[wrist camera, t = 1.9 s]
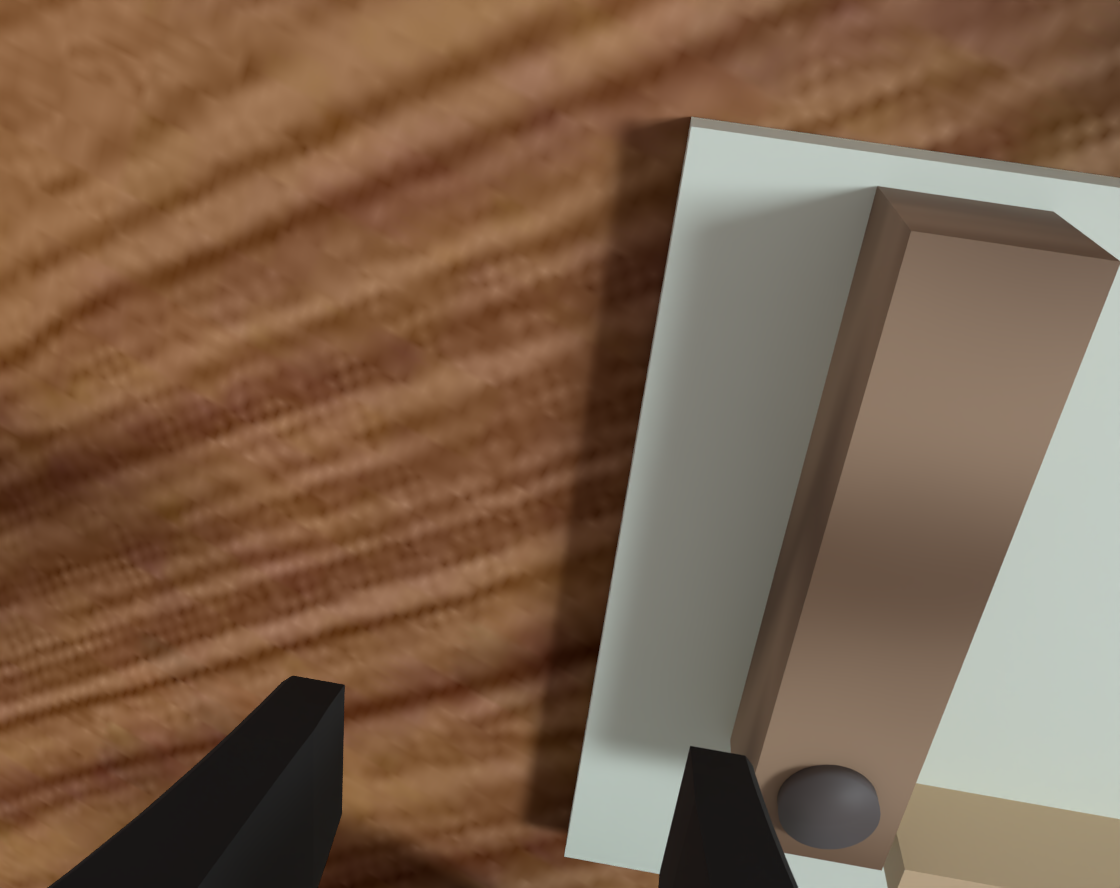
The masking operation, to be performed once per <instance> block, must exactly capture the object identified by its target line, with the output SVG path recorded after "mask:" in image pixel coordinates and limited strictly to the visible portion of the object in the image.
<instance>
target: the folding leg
mask: <svg viewBox="0 0 1120 888" xmlns="http://www.w3.org/2000/svg"><path fill="white" fill-rule="evenodd" d="M1119 266H1120V261H1119V260H1118V259H1117V258H1115V257H1114V256H1113V255H1111V254H1110V253H1109V252H1107V251H1106V250H1105V249H1103V248H1102V247H1101V246H1099V245H1098V244H1097V243H1095V242H1094V241H1093V240H1091V239H1090V238H1089V237H1087V236H1086V235H1085V234H1083V233H1082V232H1081V231H1079V230H1078V229H1076V228H1075V227H1074V226H1072V225H1071V224H1070V223H1068V222H1067V221H1066V220H1064V219H1063V218H1062V217H1060V216H1059V215H1058V214H1056V213H1055V212H1054V211H1047V210H1040V209H1033V208H1026V207H1019V206H1012V205H1005V204H999V203H992V202H985V201H978V200H971V199H964V198H957V197H950V196H943V195H936V194H930V193H923V192H916V191H909V190H902V189H895V188H888V187H881V186H877V189H876V193H875V196H874V200H873V204H872V208H871V212H870V215H869V219H868V223H867V227H866V230H865V234H864V238H863V242H862V245H861V249H860V253H859V257H858V260H857V264H856V268H855V272H854V276H853V279H852V283H851V287H850V291H849V294H848V298H847V302H846V306H845V309H844V313H843V317H842V321H841V325H840V328H839V332H838V336H837V340H836V343H835V347H834V351H833V355H832V358H831V362H830V366H829V370H828V373H827V377H826V381H825V385H824V389H823V392H822V396H821V400H820V404H819V407H818V411H817V415H816V419H815V422H814V426H813V430H812V434H811V438H810V441H809V445H808V449H807V453H806V456H805V460H804V464H803V468H802V471H801V475H800V479H799V483H798V486H797V490H796V494H795V498H794V502H793V505H792V509H791V513H790V517H789V520H788V524H787V528H786V532H785V535H784V539H783V543H782V547H781V551H780V554H779V558H778V562H777V566H776V569H775V573H774V577H773V581H772V584H771V588H770V592H769V596H768V599H767V603H766V607H765V611H764V615H763V618H762V622H761V626H760V630H759V633H758V637H757V641H756V645H755V648H754V652H753V656H752V660H751V664H750V667H749V671H748V675H747V679H746V682H745V686H744V690H743V694H742V697H741V701H740V705H739V709H738V712H737V716H736V720H735V724H734V728H733V731H732V735H731V739H730V745H731V753H734V754H740V755H745V756H746V757H747V758H748V760H749V761H750V762H751V764H752V765H753V768H754V771H755V774H756V778H757V781H758V784H759V787H760V790H761V793H762V796H763V799H764V802H765V804H766V807H767V810H768V813H769V816H770V818H771V821H772V824H773V826H774V829H775V831H776V834H777V837H778V839H779V842H780V844H781V847H782V849H783V852H784V853H787V854H793V855H798V856H804V857H809V858H815V859H820V860H826V861H831V862H837V863H842V864H848V865H853V866H859V867H864V868H870V869H875V870H881V871H882V868H883V866H884V863H885V861H886V858H887V856H888V853H889V851H890V848H891V846H892V843H893V841H894V838H895V835H896V833H897V830H898V828H899V825H900V823H901V820H902V818H903V815H904V813H905V810H906V807H907V805H908V802H909V800H910V797H911V795H912V792H913V790H914V787H915V785H916V782H917V779H918V777H919V774H920V772H921V769H922V767H923V764H924V762H925V759H926V757H927V754H928V751H929V749H930V746H931V744H932V741H933V739H934V736H935V734H936V731H937V729H938V726H939V724H940V721H941V718H942V716H943V713H944V711H945V708H946V706H947V703H948V701H949V698H950V696H951V693H952V690H953V688H954V685H955V683H956V680H957V678H958V675H959V673H960V670H961V668H962V665H963V662H964V660H965V657H966V655H967V652H968V650H969V647H970V645H971V642H972V640H973V637H974V634H975V632H976V629H977V627H978V624H979V622H980V619H981V617H982V614H983V612H984V609H985V607H986V604H987V601H988V599H989V596H990V594H991V591H992V589H993V586H994V584H995V581H996V579H997V576H998V573H999V571H1000V568H1001V566H1002V563H1003V561H1004V558H1005V556H1006V553H1007V551H1008V548H1009V545H1010V543H1011V540H1012V538H1013V535H1014V533H1015V530H1016V528H1017V525H1018V523H1019V520H1020V518H1021V515H1022V512H1023V510H1024V507H1025V505H1026V502H1027V500H1028V497H1029V495H1030V492H1031V490H1032V487H1033V484H1034V482H1035V479H1036V477H1037V474H1038V472H1039V469H1040V467H1041V464H1042V462H1043V459H1044V456H1045V454H1046V451H1047V449H1048V446H1049V444H1050V441H1051V439H1052V436H1053V434H1054V431H1055V428H1056V426H1057V423H1058V421H1059V418H1060V416H1061V413H1062V411H1063V408H1064V406H1065V403H1066V401H1067V398H1068V395H1069V393H1070V390H1071V388H1072V385H1073V383H1074V380H1075V378H1076V375H1077V373H1078V370H1079V367H1080V365H1081V362H1082V360H1083V357H1084V355H1085V352H1086V350H1087V347H1088V345H1089V342H1090V339H1091V337H1092V334H1093V332H1094V329H1095V327H1096V324H1097V322H1098V319H1099V317H1100V314H1101V312H1102V309H1103V306H1104V304H1105V301H1106V299H1107V296H1108V294H1109V291H1110V289H1111V286H1112V284H1113V281H1114V278H1115V276H1116V273H1117V271H1118V268H1119Z"/></svg>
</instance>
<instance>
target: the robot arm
mask: <svg viewBox="0 0 1120 888" xmlns="http://www.w3.org/2000/svg"><path fill="white" fill-rule="evenodd" d="M344 692H345V685H343V684H337V683H332V682H326V681H320V680H315V679H309V678H303V677H298V676H291V677H289V678H288V679H286V680H285V681H283V682H282V683H281V684H280V685H279V686H278V687H277V688H276V689H275V690H274V691H273V692H272V693H271V694H270V695H269V696H268V697H267V698H266V699H265V700H264V701H263V702H262V703H261V704H260V705H259V706H258V707H257V708H256V709H255V710H254V711H253V712H252V713H250V714H249V715H248V716H247V717H246V718H245V719H244V720H243V721H242V722H241V723H240V724H239V725H238V726H237V727H236V728H235V729H234V730H233V731H232V732H231V733H230V734H229V735H228V736H227V737H225V738H224V739H223V740H222V741H221V742H220V743H219V744H218V745H217V746H216V747H215V748H214V749H213V750H212V751H210V752H209V753H208V754H207V755H206V756H205V757H204V758H203V759H202V760H201V761H200V762H199V763H197V764H196V765H195V766H194V767H193V768H192V769H191V770H190V771H188V772H187V773H186V774H185V775H184V776H183V777H182V778H180V779H179V780H178V781H177V782H176V783H175V784H174V785H173V786H171V787H170V788H169V789H168V790H167V791H166V792H165V793H164V794H162V795H161V796H160V797H159V798H158V799H157V800H156V801H155V802H153V803H152V804H151V805H150V806H149V807H148V808H146V809H145V810H144V811H143V812H142V813H141V814H139V815H138V816H137V817H136V818H135V819H134V820H132V821H131V822H130V823H129V824H127V825H126V826H125V827H124V828H122V829H121V830H120V831H119V832H117V833H116V834H115V835H114V836H112V837H111V838H110V839H109V840H108V841H106V842H105V843H104V844H103V845H101V846H100V847H99V848H98V849H96V850H95V851H94V852H93V853H91V854H90V855H89V856H88V857H86V858H85V859H84V860H83V861H81V862H80V863H79V864H78V865H77V866H75V867H74V868H73V869H72V870H70V871H69V872H68V873H66V874H65V875H64V876H62V877H61V878H60V879H59V880H57V881H56V882H55V883H53V884H52V885H51V886H49V887H48V888H318V885H319V882H320V879H321V876H322V873H323V871H324V868H325V865H326V862H327V859H328V855H329V852H330V849H331V846H332V843H333V840H334V837H335V834H336V830H337V827H338V824H339V821H340V818H341V815H342V783H343V737H344ZM658 888H798V885H797V883H796V881H795V878H794V876H793V874H792V871H791V869H790V867H789V864H788V862H787V859H786V857H785V854H784V852H783V849H782V847H781V844H780V842H779V839H778V837H777V834H776V831H775V829H774V826H773V824H772V821H771V818H770V816H769V813H768V810H767V807H766V804H765V802H764V799H763V796H762V793H761V790H760V787H759V784H758V781H757V778H756V774H755V771H754V768H753V765H752V764H751V762H750V761H749V760H748V758H747V757H746V756H745V755H740V754H734V753H728V752H723V751H717V750H711V749H706V748H700V747H694V746H690V749H689V753H688V757H687V761H686V765H685V769H684V773H683V778H682V782H681V786H680V790H679V794H678V798H677V802H676V807H675V811H674V815H673V819H672V823H671V827H670V832H669V836H668V840H667V844H666V848H665V852H664V856H663V861H662V865H661V869H660V874H659V887H658Z"/></svg>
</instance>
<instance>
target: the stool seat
mask: <svg viewBox="0 0 1120 888" xmlns="http://www.w3.org/2000/svg"><path fill="white" fill-rule="evenodd" d="M877 186H881V187H888V188H895V189H902V190H909V191H916V192H923V193H930V194H936V195H943V196H950V197H957V198H964V199H971V200H978V201H985V202H992V203H999V204H1005V205H1012V206H1019V207H1026V208H1033V209H1040V210H1047V211H1054V212H1055V213H1056V214H1058V215H1059V216H1060V217H1062V218H1063V219H1064V220H1066V221H1067V222H1068V223H1070V224H1071V225H1072V226H1074V227H1075V228H1076V229H1078V230H1079V231H1081V232H1082V233H1083V234H1085V235H1086V236H1087V237H1089V238H1090V239H1091V240H1093V241H1094V242H1095V243H1097V244H1098V245H1099V246H1101V247H1102V248H1103V249H1105V250H1106V251H1107V252H1109V253H1110V254H1111V255H1113V256H1114V257H1115V258H1117V259H1118V260H1119V261H1120V178H1117V177H1110V176H1103V175H1096V174H1089V173H1082V172H1075V171H1068V170H1061V169H1054V168H1047V167H1040V166H1033V165H1026V164H1019V163H1012V162H1005V161H998V160H991V159H984V158H977V157H970V156H963V155H956V154H949V153H942V152H935V151H928V150H921V149H914V148H907V147H900V146H893V145H886V144H879V143H872V142H865V141H858V140H851V139H844V138H837V137H830V136H823V135H816V134H809V133H802V132H795V131H788V130H781V129H774V128H767V127H760V126H753V125H746V124H739V123H732V122H725V121H718V120H711V119H704V118H697V117H691V122H690V128H689V133H688V139H687V145H686V151H685V156H684V162H683V168H682V174H681V180H680V185H679V191H678V197H677V203H676V208H675V214H674V220H673V226H672V232H671V237H670V243H669V249H668V255H667V260H666V266H665V272H664V278H663V284H662V289H661V295H660V301H659V307H658V312H657V318H656V324H655V330H654V335H653V341H652V347H651V353H650V359H649V364H648V370H647V376H646V382H645V387H644V393H643V399H642V405H641V411H640V416H639V422H638V428H637V434H636V439H635V445H634V451H633V457H632V463H631V468H630V474H629V480H628V486H627V491H626V497H625V503H624V509H623V515H622V520H621V526H620V532H619V538H618V543H617V549H616V555H615V561H614V567H613V572H612V578H611V584H610V590H609V595H608V601H607V607H606V613H605V619H604V624H603V630H602V636H601V642H600V647H599V653H598V659H597V665H596V671H595V676H594V682H593V688H592V694H591V699H590V705H589V711H588V717H587V723H586V728H585V734H584V740H583V746H582V751H581V757H580V763H579V769H578V775H577V780H576V786H575V792H574V798H573V803H572V809H571V815H570V821H569V827H568V834H567V841H566V848H565V855H564V857H570V858H575V859H581V860H586V861H592V862H597V863H603V864H608V865H613V866H619V867H624V868H630V869H635V870H641V871H646V872H652V873H657V874H660V869H661V865H662V861H663V856H664V852H665V848H666V844H667V840H668V836H669V832H670V827H671V823H672V819H673V815H674V811H675V807H676V802H677V798H678V794H679V790H680V786H681V782H682V778H683V773H684V769H685V765H686V761H687V757H688V753H689V749H690V746H694V747H700V748H706V749H711V750H717V751H723V752H728V753H731V745H730V739H731V735H732V731H733V728H734V724H735V720H736V716H737V712H738V709H739V705H740V701H741V697H742V694H743V690H744V686H745V682H746V679H747V675H748V671H749V667H750V664H751V660H752V656H753V652H754V648H755V645H756V641H757V637H758V633H759V630H760V626H761V622H762V618H763V615H764V611H765V607H766V603H767V599H768V596H769V592H770V588H771V584H772V581H773V577H774V573H775V569H776V566H777V562H778V558H779V554H780V551H781V547H782V543H783V539H784V535H785V532H786V528H787V524H788V520H789V517H790V513H791V509H792V505H793V502H794V498H795V494H796V490H797V486H798V483H799V479H800V475H801V471H802V468H803V464H804V460H805V456H806V453H807V449H808V445H809V441H810V438H811V434H812V430H813V426H814V422H815V419H816V415H817V411H818V407H819V404H820V400H821V396H822V392H823V389H824V385H825V381H826V377H827V373H828V370H829V366H830V362H831V358H832V355H833V351H834V347H835V343H836V340H837V336H838V332H839V328H840V325H841V321H842V317H843V313H844V309H845V306H846V302H847V298H848V294H849V291H850V287H851V283H852V279H853V276H854V272H855V268H856V264H857V260H858V257H859V253H860V249H861V245H862V242H863V238H864V234H865V230H866V227H867V223H868V219H869V215H870V212H871V208H872V204H873V200H874V196H875V193H876V189H877ZM784 854H785V857H786V859H787V862H788V864H789V867H790V869H791V871H792V874H793V876H794V878H795V881H796V883H797V885H798V888H1120V266H1119V268H1118V271H1117V273H1116V276H1115V278H1114V281H1113V284H1112V286H1111V289H1110V291H1109V294H1108V296H1107V299H1106V301H1105V304H1104V306H1103V309H1102V312H1101V314H1100V317H1099V319H1098V322H1097V324H1096V327H1095V329H1094V332H1093V334H1092V337H1091V339H1090V342H1089V345H1088V347H1087V350H1086V352H1085V355H1084V357H1083V360H1082V362H1081V365H1080V367H1079V370H1078V373H1077V375H1076V378H1075V380H1074V383H1073V385H1072V388H1071V390H1070V393H1069V395H1068V398H1067V401H1066V403H1065V406H1064V408H1063V411H1062V413H1061V416H1060V418H1059V421H1058V423H1057V426H1056V428H1055V431H1054V434H1053V436H1052V439H1051V441H1050V444H1049V446H1048V449H1047V451H1046V454H1045V456H1044V459H1043V462H1042V464H1041V467H1040V469H1039V472H1038V474H1037V477H1036V479H1035V482H1034V484H1033V487H1032V490H1031V492H1030V495H1029V497H1028V500H1027V502H1026V505H1025V507H1024V510H1023V512H1022V515H1021V518H1020V520H1019V523H1018V525H1017V528H1016V530H1015V533H1014V535H1013V538H1012V540H1011V543H1010V545H1009V548H1008V551H1007V553H1006V556H1005V558H1004V561H1003V563H1002V566H1001V568H1000V571H999V573H998V576H997V579H996V581H995V584H994V586H993V589H992V591H991V594H990V596H989V599H988V601H987V604H986V607H985V609H984V612H983V614H982V617H981V619H980V622H979V624H978V627H977V629H976V632H975V634H974V637H973V640H972V642H971V645H970V647H969V650H968V652H967V655H966V657H965V660H964V662H963V665H962V668H961V670H960V673H959V675H958V678H957V680H956V683H955V685H954V688H953V690H952V693H951V696H950V698H949V701H948V703H947V706H946V708H945V711H944V713H943V716H942V718H941V721H940V724H939V726H938V729H937V731H936V734H935V736H934V739H933V741H932V744H931V746H930V749H929V751H928V754H927V757H926V759H925V762H924V764H923V767H922V769H921V772H920V774H919V777H918V779H917V782H916V785H915V787H914V790H913V792H912V795H911V797H910V800H909V802H908V805H907V807H906V810H905V813H904V815H903V818H902V820H901V823H900V825H899V828H898V830H897V833H896V835H895V838H894V841H893V843H892V846H891V848H890V851H889V853H888V856H887V858H886V861H885V863H884V866H883V868H882V871H881V870H875V869H870V868H864V867H859V866H853V865H848V864H842V863H837V862H831V861H826V860H820V859H815V858H809V857H804V856H798V855H793V854H787V853H784Z"/></svg>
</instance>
